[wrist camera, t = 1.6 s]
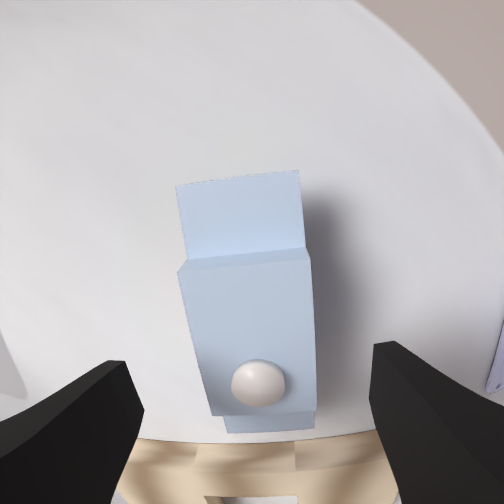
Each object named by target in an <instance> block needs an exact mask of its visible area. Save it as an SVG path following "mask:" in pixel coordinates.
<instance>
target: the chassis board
mask: <svg viewBox="0 0 504 504" xmlns="http://www.w3.org/2000/svg"><path fill="white" fill-rule="evenodd" d="M116 489H117V490H118V491H119V493H120V494H121V495H122V496H123V498H124V499H125V500H126V501H127V502H128V504H224V502H223V500H222V498H221V497H275V496H292V495H297V501H298V504H393V502H394V500H395V498H396V496H397V493H398V491H399V490H398V487H397V484H396V481H395V478H394V476H393V473H392V470H391V467H390V465H389V462H388V459H387V456H386V454H385V451H384V448H383V446H382V443H381V440H380V438H379V435H378V432H377V430H372V431H366V432H361V433H355V434H349V435H342V436H335V437H328V438H320V439H311V440H301V441H290V442H275V443H253V444H205V443H183V442H169V441H158V440H148V439H139V438H137V439H136V442H135V444H134V447H133V449H132V451H131V454H130V456H129V459H128V461H127V463H126V465H125V468H124V470H123V472H122V475H121V477H120V479H119V482H118V484H117V487H116Z"/></svg>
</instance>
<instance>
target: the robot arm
mask: <svg viewBox="0 0 504 504" xmlns="http://www.w3.org/2000/svg"><path fill="white" fill-rule="evenodd" d="M503 388H504V324H503V328H502V332H501V336H500V340H499V344H498V348H497V352H496V355H495V359H494V362H493V366H492V369H491V372H490V375H489V378H488V381H487V384H486V387H485V390H486V392H487V393H489V394H490V393H493V392H496V391H498V390H501V389H503ZM369 401H370V406H371V410H372V414H373V419H374V423H375V427H376V430H377V432H378V435H379V438H380V440H381V443H382V446H383V448H384V451H385V454H386V456H387V459H388V462H389V465H390V467H391V470H392V473H393V476H394V478H395V481H396V484H397V487H398V490H399V494H400V497H401V502H402V504H504V406H502V405H499V404H497V403H495V402H493V401H491V400H488V399H486V398H484V397H482V396H480V395H478V394H476V393H475V392H473V391H471V390H469V389H468V388H466V387H464V386H462V385H460V384H459V383H457V382H455V381H454V380H452V379H451V378H449V377H447V376H446V375H444V374H443V373H441V372H440V371H438V370H437V369H435V368H434V367H432V366H431V365H429V364H428V363H426V362H425V361H423V360H422V359H420V358H419V357H418V356H416V355H415V354H413V353H412V352H410V351H409V350H408V349H406V348H405V347H403V346H402V345H400V344H399V343H397V342H395V341H389V342H384V343H378V344H374V348H373V361H372V373H371V383H370V392H369ZM143 414H144V408H143V405H142V403H141V401H140V398H139V396H138V393H137V391H136V389H135V386H134V384H133V381H132V378H131V376H130V373H129V371H128V368H127V365H126V363H125V361H114V360H108V361H106V362H104V363H102V364H100V365H98V366H97V367H95V368H93V369H92V370H90V371H89V372H87V373H85V374H84V375H82V376H81V377H79V378H78V379H76V380H75V381H73V382H71V383H70V384H68V385H67V386H65V387H64V388H62V389H60V390H59V391H57V392H56V393H54V394H52V395H51V396H49V397H47V398H46V399H44V400H42V401H41V402H39V403H37V404H35V405H34V406H32V407H30V408H28V409H26V410H25V411H23V412H21V413H19V414H17V415H14V416H12V417H10V418H8V419H6V420H3V421H1V422H0V504H111V500H112V497H113V494H114V492H115V489H116V487H117V484H118V482H119V479H120V477H121V475H122V472H123V470H124V468H125V465H126V463H127V461H128V459H129V456H130V454H131V451H132V449H133V447H134V444H135V442H136V439H137V437H138V434H139V430H140V426H141V423H142V418H143Z"/></svg>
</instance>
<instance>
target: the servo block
mask: <svg viewBox="0 0 504 504" xmlns="http://www.w3.org/2000/svg"><path fill="white" fill-rule="evenodd" d="M175 188H176V194H177V201H178V207H179V213H180V219H181V225H182V231H183V237H184V243H185V248H186V254H187V261H186V262H185V263H184V264H183V265H182V266H181V268H180V269H179V270H178V271H177V275H178V279H179V284H180V289H181V294H182V298H183V303H184V307H185V312H186V316H187V321H188V325H189V329H190V333H191V338H192V342H193V346H194V350H195V354H196V358H197V362H198V366H199V369H200V373H201V377H202V381H203V384H204V388H205V392H206V395H207V399H208V402H209V406H210V409H211V413H212V416H223V419H224V423H225V426H226V430H227V433H257V432H276V431H290V430H301V429H311V428H314V410H317V387H316V352H315V328H314V308H313V291H312V276H311V262H310V257H309V254H308V251H307V249H306V243H305V232H304V221H303V211H302V201H301V191H300V182H299V173H298V170H293V171H283V172H274V173H265V174H257V175H248V176H240V177H233V178H225V179H218V180H211V181H204V182H198V183H191V184H185V185H179V186H176V187H175Z"/></svg>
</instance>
